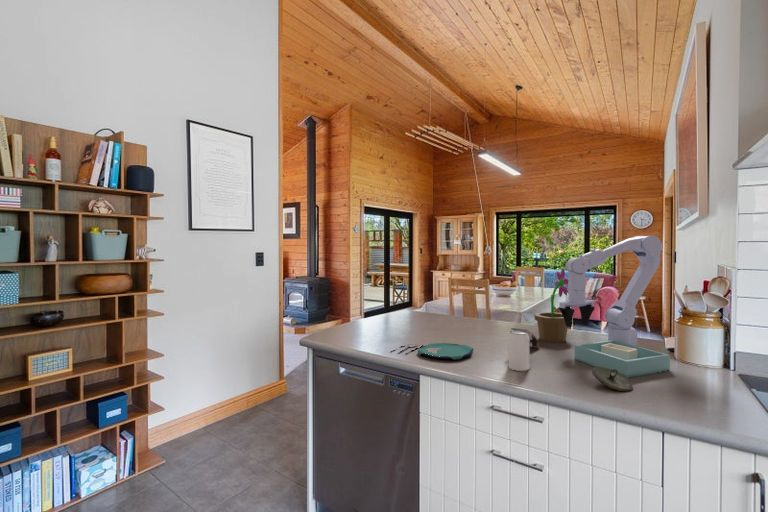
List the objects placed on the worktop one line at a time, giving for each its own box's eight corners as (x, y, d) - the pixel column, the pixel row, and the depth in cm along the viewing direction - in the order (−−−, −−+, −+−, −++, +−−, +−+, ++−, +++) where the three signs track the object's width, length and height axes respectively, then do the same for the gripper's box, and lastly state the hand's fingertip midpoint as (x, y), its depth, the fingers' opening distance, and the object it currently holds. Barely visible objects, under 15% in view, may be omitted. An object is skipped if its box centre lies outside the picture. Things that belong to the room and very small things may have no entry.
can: (519, 373, 121) (519, 335, 121) (504, 367, 127) (504, 331, 127) (533, 369, 124) (533, 332, 124) (518, 364, 130) (518, 329, 130)
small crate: (609, 357, 133) (609, 343, 133) (637, 364, 125) (637, 349, 125) (601, 359, 130) (601, 345, 130) (628, 367, 123) (628, 351, 122)
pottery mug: (541, 353, 143) (530, 335, 143) (518, 361, 148) (507, 343, 147) (541, 338, 154) (531, 321, 154) (519, 346, 158) (509, 329, 158)
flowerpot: (577, 343, 155) (577, 269, 154) (542, 343, 155) (541, 269, 154) (561, 334, 169) (561, 266, 168) (529, 335, 169) (528, 267, 168)
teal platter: (461, 365, 130) (461, 358, 130) (386, 354, 146) (386, 348, 146) (480, 351, 147) (480, 345, 147) (410, 343, 163) (410, 337, 163)
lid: (603, 377, 117) (603, 360, 116) (639, 386, 108) (639, 369, 108) (584, 384, 111) (584, 367, 111) (621, 395, 103) (621, 377, 102)
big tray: (613, 353, 140) (613, 340, 140) (669, 370, 121) (669, 355, 121) (574, 359, 134) (574, 345, 134) (626, 378, 115) (626, 361, 115)
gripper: (583, 287, 150) (583, 322, 150) (553, 289, 145) (553, 325, 146) (598, 289, 143) (598, 325, 144) (567, 291, 139) (567, 329, 139)
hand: (576, 325), depth 144 cm, fingers open, 7 cm apart
